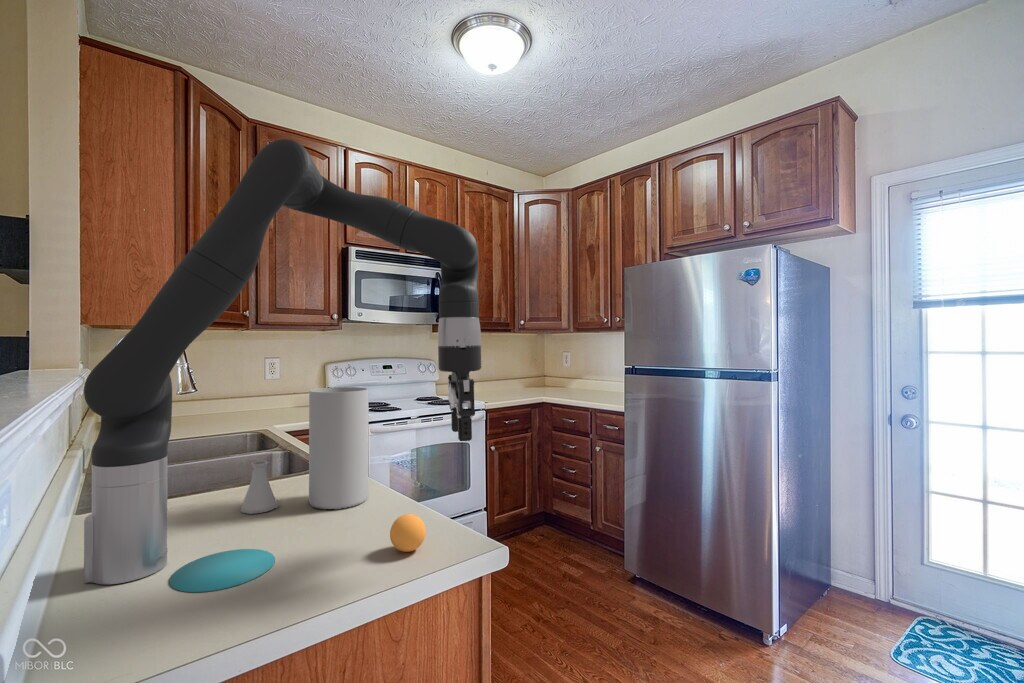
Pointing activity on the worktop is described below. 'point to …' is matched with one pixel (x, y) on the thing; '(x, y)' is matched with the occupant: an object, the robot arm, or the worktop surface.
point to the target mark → (222, 570)
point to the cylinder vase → (338, 447)
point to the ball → (407, 532)
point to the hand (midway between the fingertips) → (461, 435)
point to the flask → (259, 491)
